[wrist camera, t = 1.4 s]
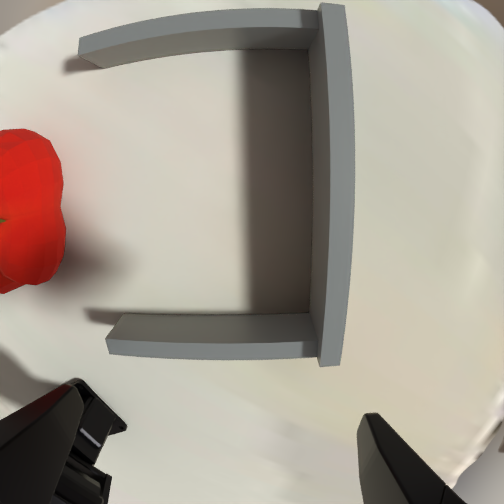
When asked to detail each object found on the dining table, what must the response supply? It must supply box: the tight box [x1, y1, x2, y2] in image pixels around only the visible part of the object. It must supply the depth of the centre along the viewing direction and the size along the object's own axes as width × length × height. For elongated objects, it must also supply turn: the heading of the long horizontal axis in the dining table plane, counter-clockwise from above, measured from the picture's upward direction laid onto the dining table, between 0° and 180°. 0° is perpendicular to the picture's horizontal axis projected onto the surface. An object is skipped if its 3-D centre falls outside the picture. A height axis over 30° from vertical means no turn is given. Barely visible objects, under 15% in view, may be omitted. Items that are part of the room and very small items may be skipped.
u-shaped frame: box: [78, 3, 355, 367], centre depth 16 cm, size 14×19×4 cm
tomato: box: [0, 129, 66, 294], centre depth 16 cm, size 10×11×7 cm
